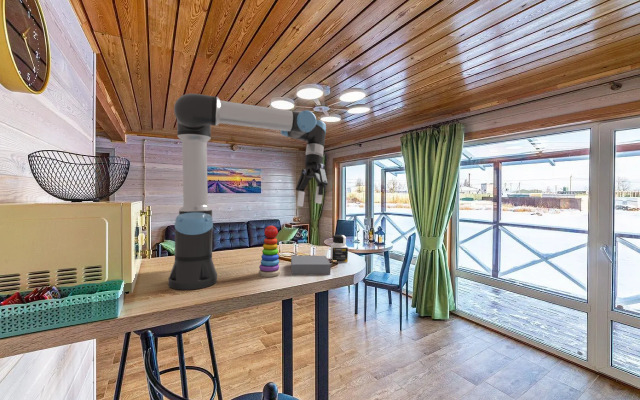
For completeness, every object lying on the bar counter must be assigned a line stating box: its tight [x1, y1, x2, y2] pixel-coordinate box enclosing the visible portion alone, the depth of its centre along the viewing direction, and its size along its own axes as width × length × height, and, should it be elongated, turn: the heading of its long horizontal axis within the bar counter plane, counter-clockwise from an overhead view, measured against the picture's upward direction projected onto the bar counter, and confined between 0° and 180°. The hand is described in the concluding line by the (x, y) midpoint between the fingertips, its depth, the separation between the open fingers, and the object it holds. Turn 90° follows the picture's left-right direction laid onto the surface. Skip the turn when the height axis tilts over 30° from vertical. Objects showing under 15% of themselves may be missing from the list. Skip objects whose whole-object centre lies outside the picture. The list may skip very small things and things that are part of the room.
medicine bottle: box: [330, 234, 349, 263], centre depth 136 cm, size 7×7×12 cm
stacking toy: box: [258, 225, 281, 278], centre depth 110 cm, size 8×8×19 cm
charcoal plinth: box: [290, 255, 332, 276], centre depth 119 cm, size 15×15×4 cm
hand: (308, 204), depth 120 cm, fingers open, 13 cm apart
